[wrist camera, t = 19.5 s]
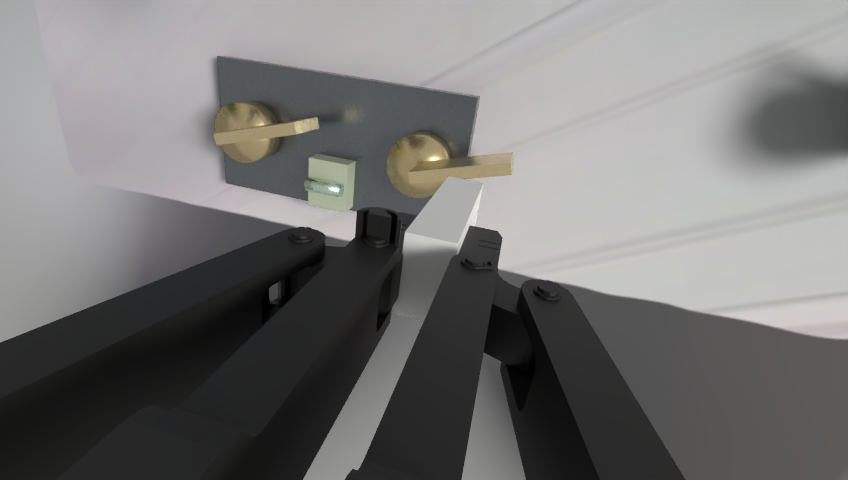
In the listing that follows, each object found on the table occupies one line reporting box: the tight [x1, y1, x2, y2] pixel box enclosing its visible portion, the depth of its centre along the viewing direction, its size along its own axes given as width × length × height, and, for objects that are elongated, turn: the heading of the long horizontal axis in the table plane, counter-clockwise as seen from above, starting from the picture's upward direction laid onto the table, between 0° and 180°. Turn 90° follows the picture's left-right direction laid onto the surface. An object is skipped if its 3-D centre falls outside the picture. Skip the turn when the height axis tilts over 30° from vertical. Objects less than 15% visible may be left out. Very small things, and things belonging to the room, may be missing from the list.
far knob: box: [213, 101, 319, 163], centre depth 47 cm, size 14×7×8 cm, turn 99°
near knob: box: [387, 132, 514, 198], centre depth 44 cm, size 14×7×8 cm, turn 99°
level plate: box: [217, 56, 480, 215], centre depth 49 cm, size 32×16×6 cm, turn 82°
